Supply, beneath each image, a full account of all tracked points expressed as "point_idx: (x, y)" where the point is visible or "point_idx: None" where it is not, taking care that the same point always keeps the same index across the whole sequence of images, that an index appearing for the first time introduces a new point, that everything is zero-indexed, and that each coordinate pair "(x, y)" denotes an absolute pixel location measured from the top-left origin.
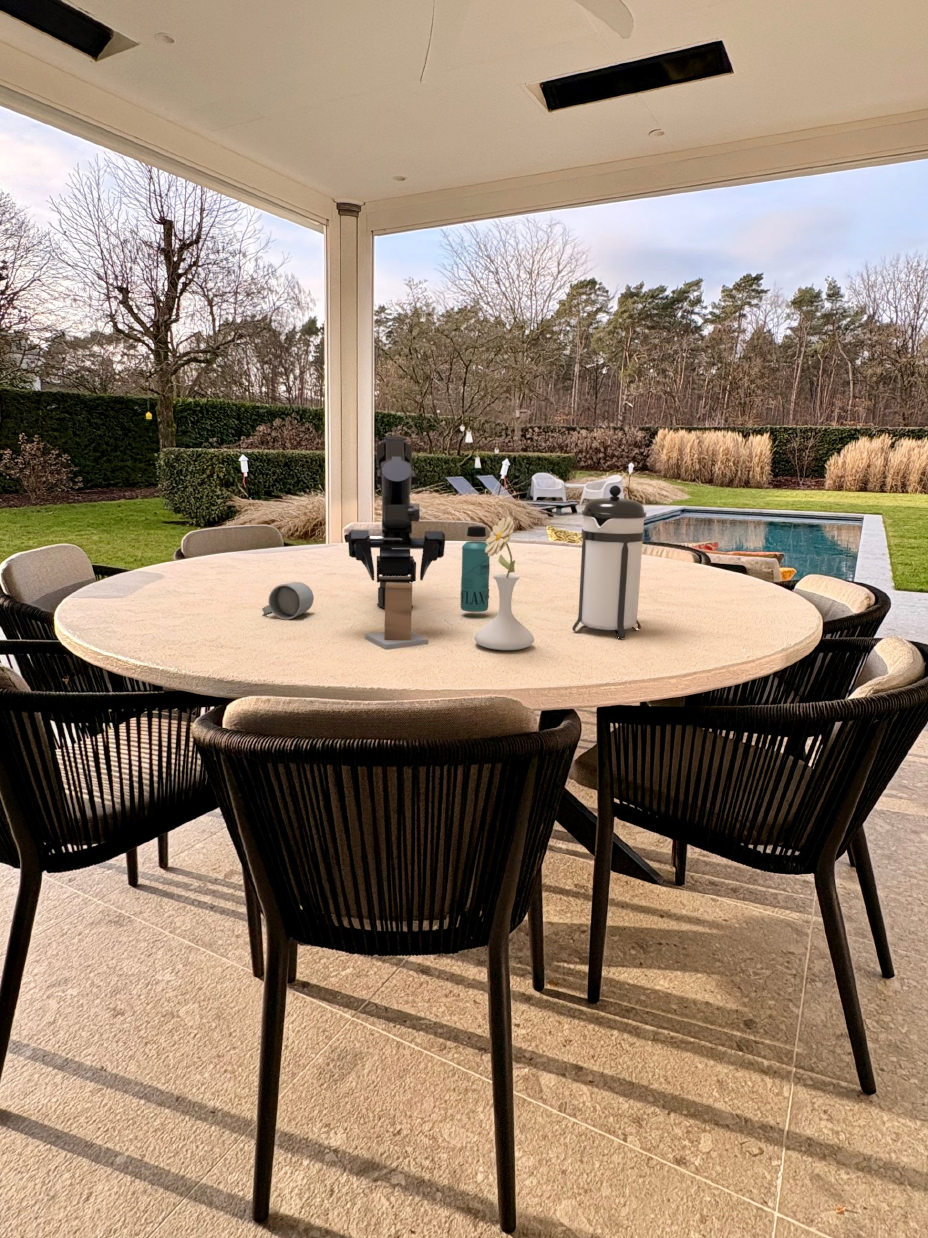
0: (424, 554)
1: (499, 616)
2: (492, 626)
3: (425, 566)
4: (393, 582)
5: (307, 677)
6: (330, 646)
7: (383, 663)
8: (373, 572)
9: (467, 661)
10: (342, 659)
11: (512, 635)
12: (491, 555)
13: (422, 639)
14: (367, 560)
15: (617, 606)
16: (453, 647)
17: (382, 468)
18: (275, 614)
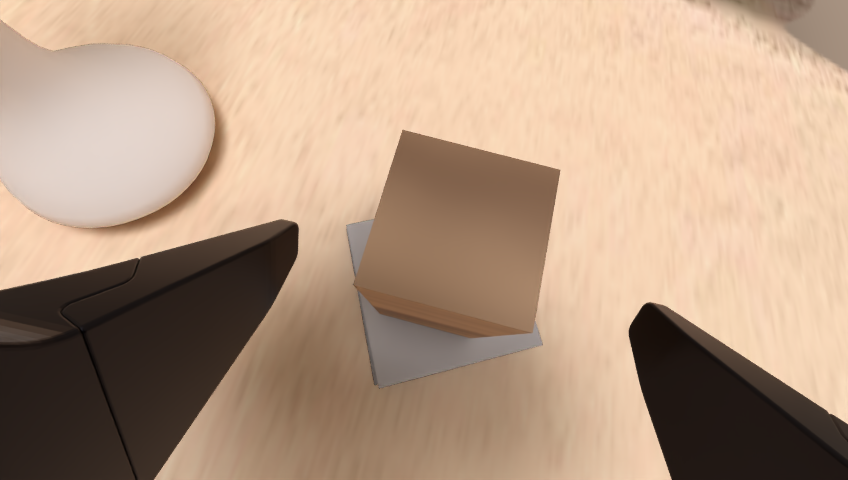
0: (66, 313)
1: (69, 66)
2: (134, 80)
3: (197, 242)
4: (483, 316)
5: (690, 42)
6: (645, 293)
7: (515, 93)
8: (675, 322)
9: (303, 54)
10: (613, 151)
11: (107, 44)
12: None
13: (365, 226)
14: (843, 425)
15: None
16: (282, 187)
17: None
18: None
